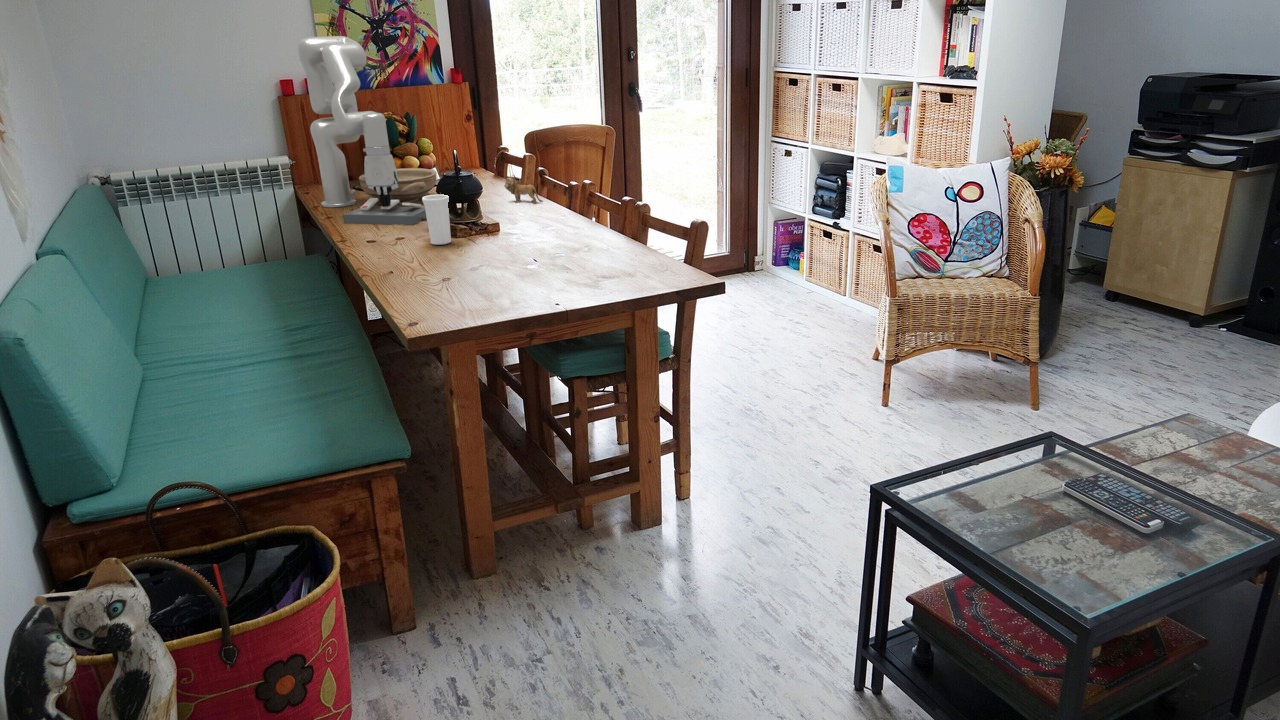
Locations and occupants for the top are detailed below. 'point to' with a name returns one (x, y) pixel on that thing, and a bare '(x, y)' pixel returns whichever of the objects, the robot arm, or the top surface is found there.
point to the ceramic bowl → (407, 184)
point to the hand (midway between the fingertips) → (386, 205)
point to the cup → (438, 218)
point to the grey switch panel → (386, 215)
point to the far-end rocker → (369, 204)
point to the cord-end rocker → (411, 204)
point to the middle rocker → (391, 204)
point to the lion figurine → (520, 189)
